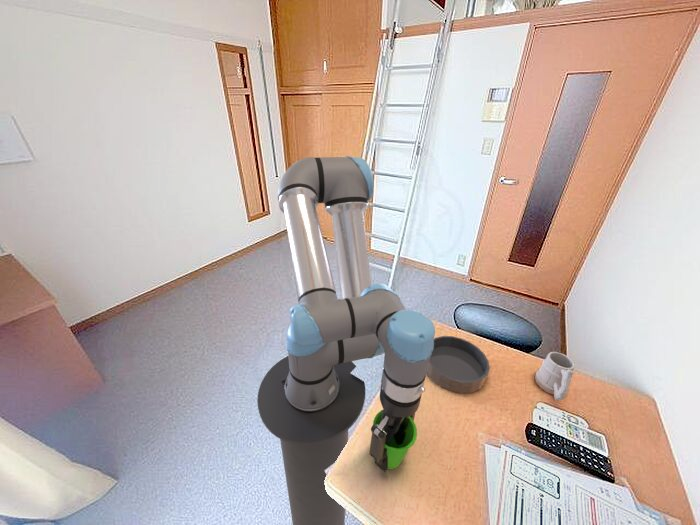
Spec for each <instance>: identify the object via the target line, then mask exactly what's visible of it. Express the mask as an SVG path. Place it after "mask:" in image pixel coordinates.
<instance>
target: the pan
mask: <svg viewBox="0 0 700 525" xmlns="http://www.w3.org/2000/svg"><path fill="white" fill-rule="evenodd" d="M490 368H491V367H490V362H489V360H488V358H487V356H486V354H485V353H484V351H482V350H481V349H480V347H478V346H477V345H475V344H474V343H472V342H471V341H469V340H467V339H465V338H464V339H463V338H462V337H457V336H452V335H442V336H437V337H434V348H433V352H432V354H431V357H430V361H429V365H428V369H427V373H426V375H427V376H428V377H429V378H430V379H431V380H432V381H433V382H434V383H435V384H436V385H438V386H439V387H441V388H443V389H445V390H446V391H449V392H451V393H456V394H473V393H476V392H478V391H479V390H481V389H482V387H483V386H485V384H486V380H487V377H488V374H489V371H490Z"/></svg>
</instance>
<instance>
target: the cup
mask: <svg viewBox="0 0 700 525" xmlns="http://www.w3.org/2000/svg"><path fill="white" fill-rule="evenodd" d="M382 413H383V409H381V410H380V411H379V412H378V413H376V415H375V417H374V419H373V421H372V426H373V425H374V424H375V425H376V424H378V425H379V424H380V423H381V416H382ZM404 431H405V432H406V434H405V438H404V441H403V443H402V444H401V445H398V444H397V443H396V441H395V439H394V436H393V439H392V442H391V445H390V447H389V446H387V445H386V444H385V447H384V448H387V456H388V467H387V470H388V469H389V470H393V469H396V468H398V467H399V466H400V465H401V463H402V461H403V459H404V458H405V456H406V455H407V453H408V451H409V449H411V447H413V446H414V444H415V443H416V441H417V436H418V430H417V426H416V423H415V420H414V421H413V419H412V418H411V417H410V416H409V422H408V426H407V429H406V430H405V429H404Z"/></svg>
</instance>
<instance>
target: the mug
mask: <svg viewBox="0 0 700 525" xmlns="http://www.w3.org/2000/svg"><path fill="white" fill-rule="evenodd" d="M575 368H576V363H575V362H574V360H573V359H572V358H571V357H569V356H568V355H566V354H564V353H563V352H562V353H561V352H557V351H550V352H549V353H548V354H547V355H546V358H544V359H543V360H542V363H541V366H540V368H539V369H538V370H536V372H535V377H534V380H535V384H536V385H537V386H538V387H539V388H540V389H541V390H542V391H544V392H545V393H548V394H550V395H553V398H554V401H555V402H560V401H563V400H564V399H565V398H566V396H567V395H568V391H569V388H570V385H571V382H572V378H573V376H574V374H575V371H574V370H575Z"/></svg>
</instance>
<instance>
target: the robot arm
mask: <svg viewBox="0 0 700 525" xmlns="http://www.w3.org/2000/svg"><path fill="white" fill-rule="evenodd" d="M374 186H375V184H374V176H373V172H372V169H371V167H370V165H369V163H368V162H367V161H366V160H365V158H362V157H359V156H358V157H356V156H349V155H348V156H347V155H346V156H330V157H327V156H325V157H321V156H319V157H315V156H313V157H312V156H311V157H304V158H301V159H299V160H297V161H295V162H294V163H293V164H291V165H290V166H289V167H288V168H287V170H286V171H285V172H284V173H283V175H282V177H281V179H280V181H279V184H278V189H277V202H278V207H279V210H280V211H281V212H282V214H284V220H285V224H286V225H285V226H286V232H287V239H288V246H289V252H290V259H291V264H292V271H293V276H294V281H295V289H296V297H297V301H298V304H297V305H293V306H291V307H290V309H289V318H290V324H289V327H288V329H287V332H286V342H285V345H286V346H285V347H286V350H287V356H288V357H289V369H290V371H289V374H288V377H287V378H285V379H283V380H282V383H283V382H285V381H286V383H285V396H286V399H287V401H288V403H289V404H290V405H291V406H292V407H293V408H294V409H296V410H298V411H300V412H304V413H316V412H320V411H322V410H324V409H326V408H328V407H329V406H330V405H332V404H333V403H334V401H335V400H336V398H337V396H338V394H339V378H338V375H337V373H336V371H335V369H334V367H333V365H336V364H341V363H346V362H351V361H352V362H356V361H360V360H365V359H372V358H374V357H378V356H382V355H383V354H384V358H383V366H382V374H381V380H380V390H379V401H380V405H381V407H382V410H383V413H382V416H381V423H380V424H379V425H378V424H376V425H375V424H374V425H373V424H372V426H371V427H370V431H371V438H370V444H369V451H368V452H369V453H368V455H369V456H370V457H371V458H372V459H373V460H374V463H375V465H376V466H378V467H379V468H380V469H381V470H382V471H383V473H386V472H387V471H388V468H387V467H388V456H387V448H384V447H385V444H386V445H387V446H389V447H390V445H391V442H392V439H393V436H394V439H395V441H396V443H397V444H398V445H401V444H402V443H403V441H404V438H405V434H406V432H405V431H404V429H405V430H406V429H407V426H408V422H409V416H410V417H411V418H412V419H413V421H414V422H415V418H416V417H415V416H416V413H417V412H418V410H419V408H420V404H421V399H422V393H425V392H426V388H425V387H424V385H425V380H426V377H427V369H428V365H429V361H430V357H431V354H432V352H433V348H434V338H435V334H436V327H435V324H434V322H433V321H432V319H431V318H430V317H429V316H427V315H424V314H422V312H420V311H418V310H415V309H408V308H406V307H405V305H404V303H403V302H402V301H401V299H400V297H399V295H398V294H397V293H396V292H395V291H394V290H393V289H392V288H391V287H390V286H388V285H387V284H384V283H379V282H378V283H372V279H371V278H372V277H371V270H370V269H371V268H370V262H369V252H368V243H367V233H366V226H365V218H364V211H365V210H367V208H368V206H369V203H368V202H369V201H370V200H372V198H373V197H374V196H373V195H374ZM319 204H324V209H325V212H326V213H327V214H329V215H330V216H331V222H332V231H333V240H334V250H335V257H336V266H337V276H338V284H339V285H338V286H339V293H340V298H338V295H337V291H336V286H335V282H334V277H333V274H332V270H331V266H330V262H329V258H328V257H329V256H328V252H327V248H326V245H325V241H324V240H325V239H324V235H323V232H322V228H321V224H320V219H319V216H318V211H317V208H318V205H319Z"/></svg>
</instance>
